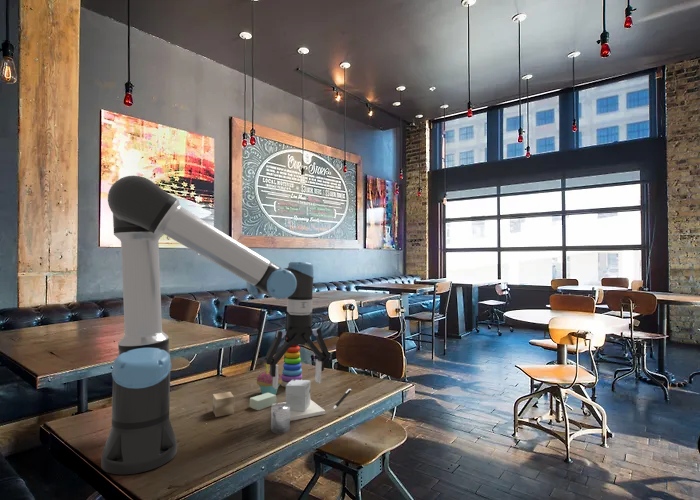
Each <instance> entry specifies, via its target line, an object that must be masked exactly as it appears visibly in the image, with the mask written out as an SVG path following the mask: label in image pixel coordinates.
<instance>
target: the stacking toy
mask: <svg viewBox="0 0 700 500" xmlns="http://www.w3.org/2000/svg"><path fill="white" fill-rule="evenodd" d="M286 339H287V337H286V336H285V340H286ZM300 349H301V348H300V346H299V345H292V346H291V347H290V348H289V349H288V350H287V351H286V353H285V354H284V360H283V361H284V362H283V365H282V367H283V369H282V374H281V375H280V376H281V377H282V383H280V385H281V386H282V387H283V388H286V385H287V384H288V383H289V382H290V381H291V380H303V374H302V373H303V369H302V363H301V361H302V358H301V352H300Z"/></svg>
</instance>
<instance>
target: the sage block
mask: <svg viewBox="0 0 700 500" xmlns="http://www.w3.org/2000/svg"><path fill="white" fill-rule="evenodd" d="M272 404H277V395H276V394H275V395H274V394H271V393H265V394H262V393H261V394H259V395H256V396H252V397H250V398H249V408H251V409H253V410H256V411H261V410H263V409H266V408H269V407H271V406H272Z"/></svg>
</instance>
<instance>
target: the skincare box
mask: <svg viewBox="0 0 700 500" xmlns="http://www.w3.org/2000/svg"><path fill="white" fill-rule="evenodd" d="M310 399H311V380H308V379H302V380H291V381H290V382H289V383H288V384H287V385H286V387H285V402H286V404H289V405H290V410H292V411H305V410H306V409H307V408H308V406H309V405H310Z"/></svg>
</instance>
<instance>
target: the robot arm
mask: <svg viewBox="0 0 700 500" xmlns="http://www.w3.org/2000/svg"><path fill="white" fill-rule="evenodd" d="M107 203H108V206H109V207H108V208H109V209H110V211H111V212H112V221H113V222H112V223H113V225H112V226H113V235H114V236H115V237H116V238H117V239H118V240H119V241H120V246H121V247H120V248H121V251H120V252H121V271H122V272H121V273H122V292H123V293H122V295H123V319H124V320H123V322H124V335H123V337H122V338H121V339H120V340H119V342H118V343H117V344H118V356H117V357H116V358H115V359H114V362H113V366H112V369H111V376H112V397H111V399H112V400H111V401H112V403H111V429H110V431H109V434H108V436H107V439H106V442H105V444H104V448H103V450H102V452H101V461H100V462H101V463H100V465H101V469H102V470H103V471H104V472H106V473H108V474H113V475H134V474H140V473H145V472H148V471H151V470H155V469H157V468H159V467H162V466H164V465H165V464H167V463H168V462H170V461H171V460H172V459H174V457H175V456H176V455H177V452H178V441H177V440H178V439H177V438H176V434H175V431H174V429H173V426H172V423H171V420H170V409H171V408H170V407H171V406H170V405H171V370H172V361H171V356H170V341H169V340H170V338H169V337H170V336H169V335H168V334H167V333H165V332H164V331H163V323H162V322H163V319H162V297H161V295H162V293H161V273H160V271H161V270H160V249H159V248H160V246H159V240H160V239H161V238H162V237H163V236H164V235H165V236H167V237H168V238H170V239H172V240H173V241H176V242H177V243H178V244H181V245H182V246H184V247H186V248H188V250H190V251H192V252H195V253H196V254H197V255H200V256H202V257H203V258H205V259H206V260H208V261H210V262H212V263H214V264H215V265H216V266H219V267H220V268H223V269H224V270H226V271H228V272H230V273H231V274H233V275H235V277H236V276H237V277H238V278H240V279H241V280H243V281H245V282H246V289H247V292H248V293H249V294H253V295H255V294H256V295H267V296H271V297H272V298H274V299H277V300H281V299H283V300H284V299H287V301H286V302H287V304H286V312H287V315H286V329H285V330H279V329H277V330H276V331H275V334H274V335H275V336H274V339H273V340H272V343H271V345H270V347H269V348H268V351H267V352H266V355H265V357H264V358H263V362H264V363H265V364H268V366H269V372H270V376H271V377H273V387H274V388H275V389H277V390H278V389H279V387H278V374H279V372H280V371H279V369H280V366H279V364H278V363H279V362H280V360H281V359H282V358H283V356H285V353H286V352H287V350H288V349H289V348H290V347H291V346H292V345H297V346H299V345H301V346H304V345H307V346H308V348H310V350H311V351H312V352H313V354H314V355H315V356H316V358H317V359H315V373H314V374H315V376H314V381H315V382H316V383H317V384H322V372H323V371H324V370H325V362H326V361H327V359H330V357H331V354H330V352H329V350H328V347H327V345H326V343H325V340H324V339H323V335H322V329H321V328H319V327H315V328H313V329H312V325H313V324H312V323H313V315H312V312H313V301H314V300H313V291H314V290H313V289H314V278H315V276H314V266H313V264H312V263H311V262H307V261H305V262H304V261H302V262H301V261H290V262H289V263H288V266H287V267H284V268H282V267H281V266H280V265H277V264H276V263H274V262H272V261H270V260H269V259H268V258H267V257H264V256H262V255H260V254H259V253H258V252H256V251H254V250H252V249H251V248H249V247H248V246H246V245H245V244H243V243H241V242H239V241H238V240H237V239H235V238H233V237H231V236H229V234H226V233H225V232H223V231H222V230H220V229H218V228H217V227H215V226H213V225H212V224H210V223H209V222H207V221H205V220H204V219H202V218H201V217H199V216H197V215H195V214H193V213H192V212H191V211H189V210H188V209H186V208H184V207H182V206H181V203H180V200H179V199H178V198H176V197H174V196H173V195H172V194H170V193H168V192H167V191H166V190H164V189H163V188H161V187H160V186H159V185H158V184H156V183H155V182H154V181H152V180H150V179H149V178H146V177H145V176H144V177H143V176H140V175H127V176H123V177H121V178H119V179H118V180H116V181H115V182H114V183H112V185H111V186H110V189H109V190H108V194H107ZM311 336H314V337H315V340H316V342H317V344H318V347H319V348H318V347H317V346H316V345H315V343H314V341H312V339H311ZM284 337H285V340H284V342H283V344H282V345H281V347H280V348H279V346H280V344H281V342H282V339H283V338H284ZM286 337H287V339H286ZM278 348H279V349H278ZM277 349H278V350H277ZM319 349H320V350H321V351H320V350H319ZM279 375H280V374H279Z"/></svg>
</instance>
